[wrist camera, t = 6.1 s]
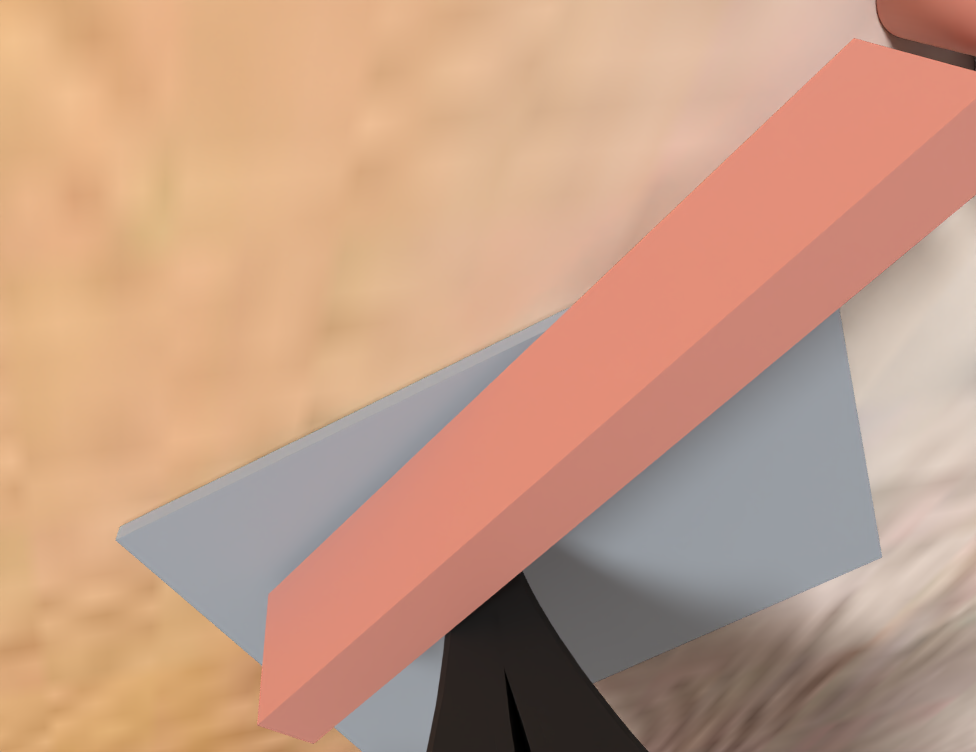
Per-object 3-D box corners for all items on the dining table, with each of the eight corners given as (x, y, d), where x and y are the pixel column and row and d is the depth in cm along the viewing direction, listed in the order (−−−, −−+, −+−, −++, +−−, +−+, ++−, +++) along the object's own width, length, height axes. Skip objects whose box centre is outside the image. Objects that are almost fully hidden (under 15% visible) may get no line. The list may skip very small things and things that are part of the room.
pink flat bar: (994, -22, 10) (1226, 5, 7) (324, 593, 14) (324, 747, 11) (953, -112, 9) (1194, -116, 6) (261, 563, 13) (245, 721, 10)
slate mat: (808, 190, 11) (820, 197, 11) (873, 546, 16) (881, 557, 16) (120, 526, 12) (116, 540, 12) (386, 760, 17) (387, 772, 17)
